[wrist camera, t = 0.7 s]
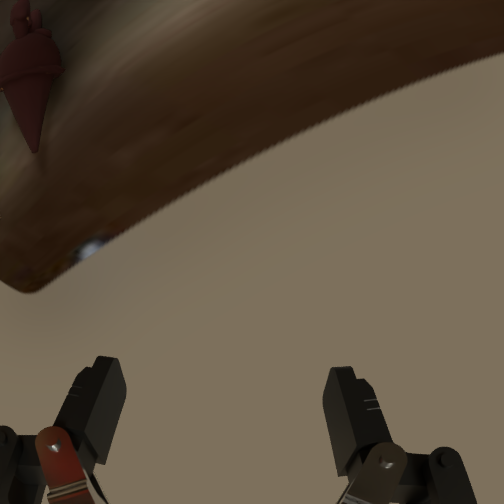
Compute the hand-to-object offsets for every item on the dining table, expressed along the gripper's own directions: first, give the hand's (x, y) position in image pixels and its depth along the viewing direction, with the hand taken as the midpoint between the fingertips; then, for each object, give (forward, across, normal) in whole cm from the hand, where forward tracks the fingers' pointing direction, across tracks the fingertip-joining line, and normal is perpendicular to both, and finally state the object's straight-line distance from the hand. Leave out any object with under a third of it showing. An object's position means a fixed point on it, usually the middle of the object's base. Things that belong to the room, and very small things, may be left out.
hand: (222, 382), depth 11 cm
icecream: (+20, +19, -15) cm, 31 cm away
